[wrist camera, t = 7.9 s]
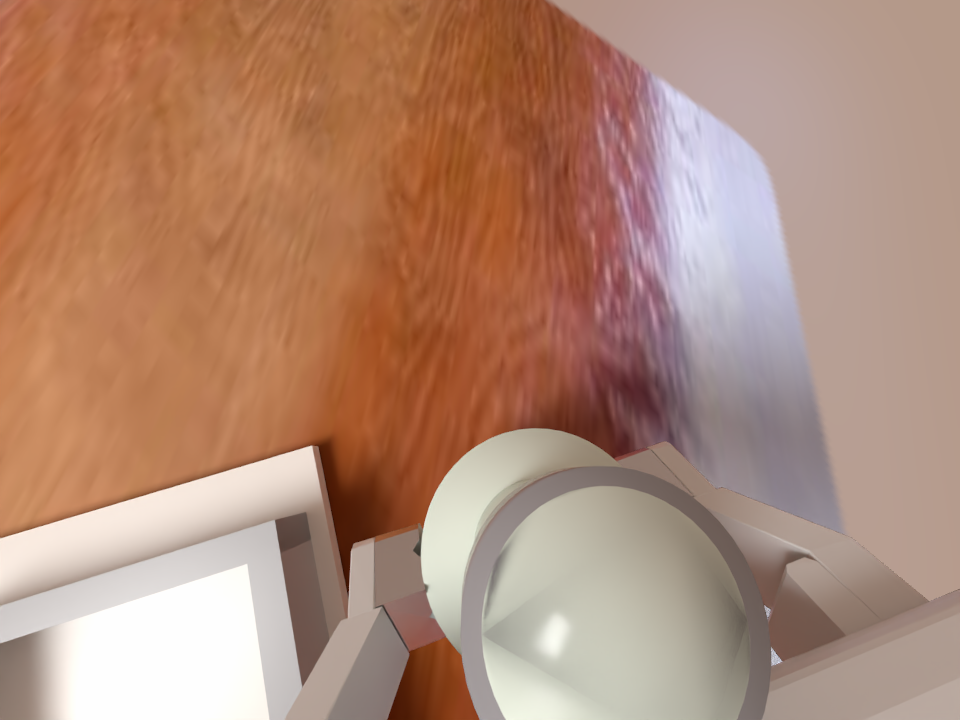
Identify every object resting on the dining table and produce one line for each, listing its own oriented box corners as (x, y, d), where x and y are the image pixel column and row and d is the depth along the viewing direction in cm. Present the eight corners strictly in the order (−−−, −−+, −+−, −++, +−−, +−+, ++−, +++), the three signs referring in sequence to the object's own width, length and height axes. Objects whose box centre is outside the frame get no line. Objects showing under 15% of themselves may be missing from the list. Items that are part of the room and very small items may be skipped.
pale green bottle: (573, 547, 16) (952, 818, 4) (462, 586, 16) (453, 1062, 3) (535, 436, 17) (723, 343, 5) (431, 468, 17) (328, 464, 4)
